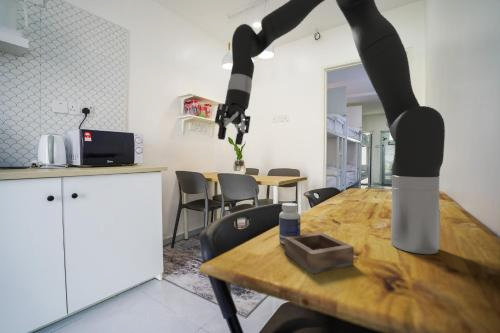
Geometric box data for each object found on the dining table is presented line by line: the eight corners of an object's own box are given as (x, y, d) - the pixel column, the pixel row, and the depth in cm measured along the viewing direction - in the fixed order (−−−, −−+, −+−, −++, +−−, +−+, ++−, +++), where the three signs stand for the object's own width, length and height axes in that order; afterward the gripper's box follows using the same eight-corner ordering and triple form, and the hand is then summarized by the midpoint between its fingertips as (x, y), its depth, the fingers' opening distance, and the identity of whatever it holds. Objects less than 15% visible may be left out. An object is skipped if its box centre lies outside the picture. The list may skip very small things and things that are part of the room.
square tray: (320, 247, 54) (320, 232, 54) (353, 264, 45) (353, 246, 45) (284, 253, 51) (284, 237, 51) (311, 273, 42) (311, 254, 41)
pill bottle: (302, 245, 56) (302, 206, 55) (280, 245, 56) (280, 206, 55) (298, 238, 61) (298, 202, 61) (278, 238, 61) (278, 202, 61)
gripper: (234, 82, 64) (224, 138, 64) (260, 99, 76) (251, 147, 76) (215, 84, 69) (205, 136, 69) (242, 100, 80) (234, 145, 80)
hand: (230, 142), depth 72 cm, fingers open, 8 cm apart
